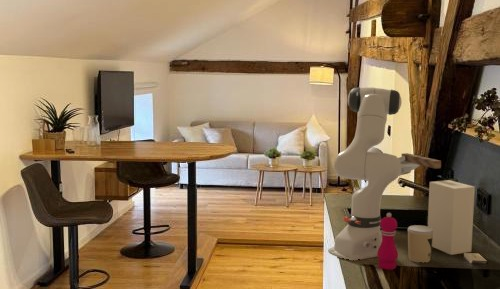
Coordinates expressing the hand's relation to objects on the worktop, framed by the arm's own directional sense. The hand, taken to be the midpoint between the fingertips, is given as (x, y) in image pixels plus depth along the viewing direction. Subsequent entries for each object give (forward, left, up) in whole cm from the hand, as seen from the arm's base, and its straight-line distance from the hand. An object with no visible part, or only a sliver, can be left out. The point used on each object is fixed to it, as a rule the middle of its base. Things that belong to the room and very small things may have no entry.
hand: (409, 157), depth 241 cm
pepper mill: (-44, -25, -33) cm, 60 cm away
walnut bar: (-2, -7, -2) cm, 7 cm away
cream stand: (-7, -26, -33) cm, 42 cm away
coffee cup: (-28, -27, -33) cm, 51 cm away
